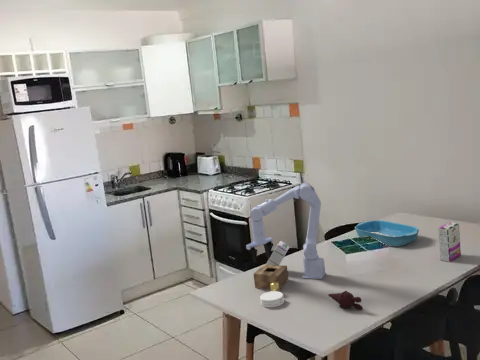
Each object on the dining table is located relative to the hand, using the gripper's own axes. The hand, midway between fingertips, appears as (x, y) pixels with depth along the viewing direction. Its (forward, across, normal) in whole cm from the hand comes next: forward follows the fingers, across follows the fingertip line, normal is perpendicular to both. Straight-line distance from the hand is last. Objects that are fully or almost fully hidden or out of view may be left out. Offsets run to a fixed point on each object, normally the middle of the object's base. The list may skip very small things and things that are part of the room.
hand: (261, 260), depth 245 cm
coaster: (+10, +14, +24) cm, 30 cm away
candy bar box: (+10, -74, +50) cm, 90 cm away
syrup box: (+8, -9, -6) cm, 14 cm away
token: (+10, +7, +18) cm, 21 cm away
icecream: (+10, -3, +50) cm, 51 cm away
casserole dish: (+10, -80, +7) cm, 82 cm away
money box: (+10, +1, +7) cm, 12 cm away
